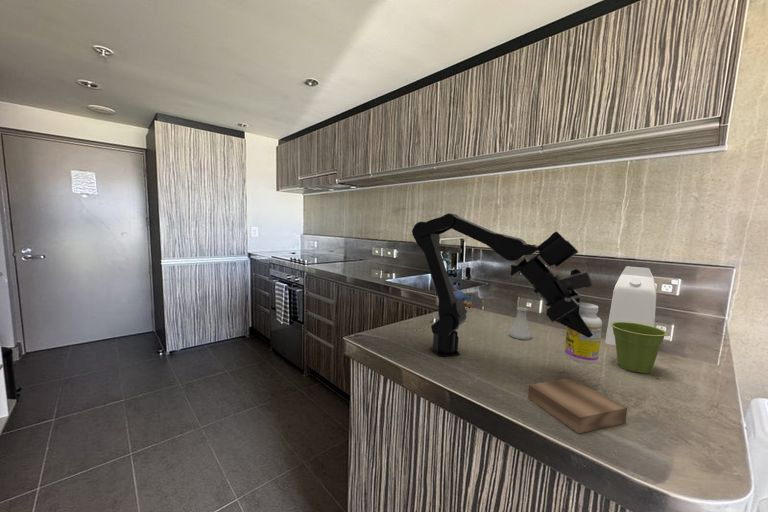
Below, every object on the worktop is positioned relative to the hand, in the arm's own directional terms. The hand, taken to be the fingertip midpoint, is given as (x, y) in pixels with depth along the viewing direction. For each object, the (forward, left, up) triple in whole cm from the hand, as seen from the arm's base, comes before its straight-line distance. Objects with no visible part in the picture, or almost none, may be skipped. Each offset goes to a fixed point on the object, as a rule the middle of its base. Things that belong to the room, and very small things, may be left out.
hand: (590, 332), depth 70 cm
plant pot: (+24, +5, -14) cm, 28 cm away
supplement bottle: (-1, +1, -7) cm, 7 cm away
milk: (+44, +19, -14) cm, 50 cm away
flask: (+11, +33, -14) cm, 37 cm away
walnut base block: (-11, -6, -13) cm, 18 cm away
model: (+16, +78, -14) cm, 81 cm away
